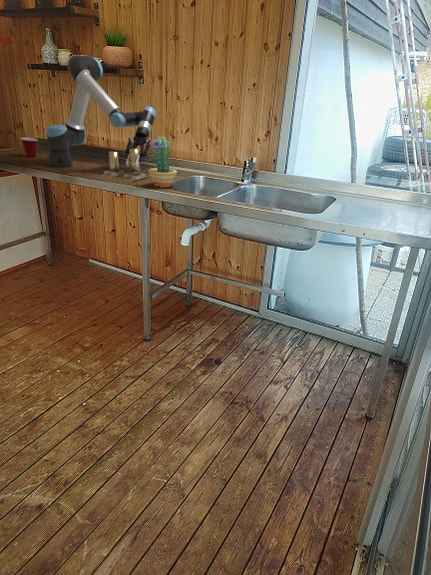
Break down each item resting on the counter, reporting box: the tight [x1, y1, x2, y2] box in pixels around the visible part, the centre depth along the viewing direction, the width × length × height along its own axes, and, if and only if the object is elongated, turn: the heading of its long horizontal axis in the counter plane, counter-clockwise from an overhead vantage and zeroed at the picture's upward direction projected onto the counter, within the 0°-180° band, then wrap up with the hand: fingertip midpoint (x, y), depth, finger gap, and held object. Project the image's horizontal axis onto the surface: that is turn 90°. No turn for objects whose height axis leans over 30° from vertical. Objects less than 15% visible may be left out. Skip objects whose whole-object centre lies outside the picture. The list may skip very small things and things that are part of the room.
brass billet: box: [129, 148, 140, 173], centre depth 223 cm, size 5×5×12 cm
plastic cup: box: [20, 137, 39, 158], centre depth 271 cm, size 11×11×12 cm
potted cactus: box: [147, 136, 178, 188], centre depth 211 cm, size 15×15×25 cm
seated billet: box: [108, 151, 120, 173], centre depth 229 cm, size 5×5×12 cm
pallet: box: [100, 169, 149, 183], centre depth 229 cm, size 23×14×3 cm, turn 65°
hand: (131, 165), depth 220 cm, fingers closed on brass billet, 5 cm apart
